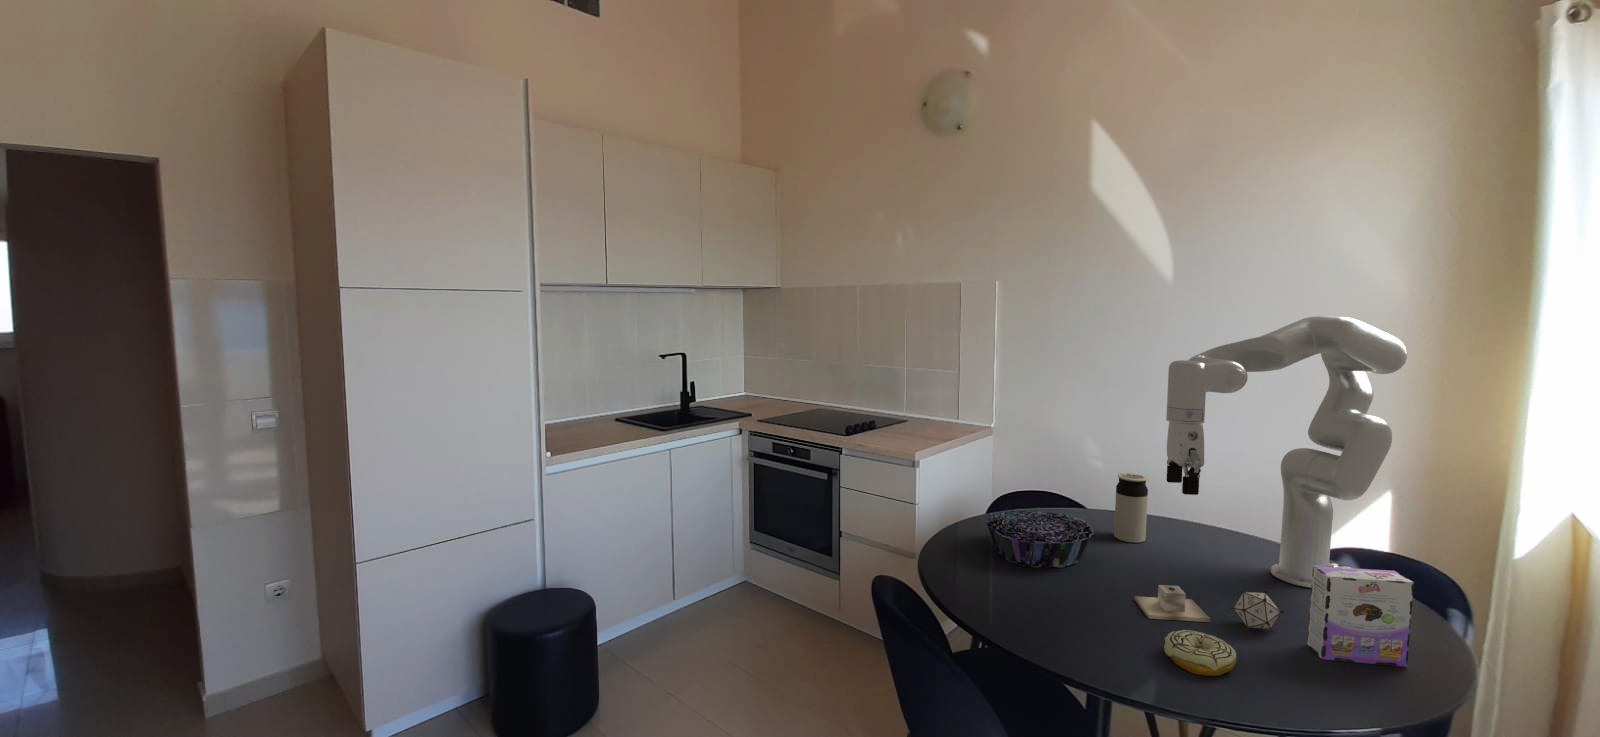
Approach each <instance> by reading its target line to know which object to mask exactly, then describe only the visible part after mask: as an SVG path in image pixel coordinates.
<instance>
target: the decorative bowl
mask: <svg viewBox="0 0 1600 737" xmlns="http://www.w3.org/2000/svg"><path fill="white" fill-rule="evenodd" d="M985 520H986V523H985V525H986V527H987V528H988V531H989V534H990V538H991V539H992V543H993V546H994V549H995V552H996V553H997V554H998V555H1000V554H1001V555H1000V556H1001V557H1002V558H1003V559H1004V558H1005V560H1006V561H1007V562H1009V563H1011V562H1012V564H1014V563H1015V565H1017V566H1020V567H1028V568H1031V567H1032V568H1036V569H1037V568H1044V569H1047V568H1048V569H1049V568H1051V567H1052V568H1055V569H1056V568H1060V569H1061V568H1065V567H1069V566H1071V565H1075V564H1078V563H1079V561H1080V560H1081V559H1082V558H1083V556H1084V554H1085V552H1086V549H1087V547H1088V544H1089V543H1090V540H1091V538H1092V536H1093V535H1094V534H1095V530H1094V528H1093V526H1092V525H1090V524H1089V522H1087V521H1085V520H1083V519H1082V518H1079V517H1075V516H1072V515H1067V514H1064V513H1056V512H1048V511H1037V510H1036V511H1034V510H1031V511H1029V510H1021V509H1020V510H1018V509H1017V510H1016V509H1013V510H1005V511H1002V512H997V513H993V514H989V516H988V517H987V518H986V519H985Z"/></svg>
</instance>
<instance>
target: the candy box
mask: <svg viewBox="0 0 1600 737" xmlns="http://www.w3.org/2000/svg"><path fill="white" fill-rule="evenodd" d="M1343 567H1344V566H1343ZM1343 567H1340V566H1339V567H1328V566H1314V565H1313V574H1312V587H1311V588H1310V589H1311V590H1310V601H1309V613H1308V615H1309V616H1308V626H1307V627H1308V628H1307V629H1308V630H1307V638H1306V641H1307V643H1306V645H1307V646H1308V647H1309V648H1310V649H1311V650H1312V651H1313V652H1314V653H1315V654H1316V655H1317V656H1318V657H1319V658H1320V659H1321V660H1326V661H1337V662H1346V663H1347V662H1349V663H1359V664H1369V665H1370V664H1371V665H1382V666H1393V667H1404V668H1405V667H1406V668H1408V664H1409V651H1410V636H1411V625H1412V624H1411V623H1412V609H1413V596H1414V587H1415V586H1414V584H1415V582H1414V581H1413V580H1410V579H1409V578H1408V577H1406V576H1404V575H1402V574H1400V573H1399V572H1397V571H1396V570H1390V569H1389V570H1386V569H1373V568H1370V569H1369V568H1356V567H1350V568H1343Z"/></svg>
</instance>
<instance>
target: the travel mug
mask: <svg viewBox="0 0 1600 737" xmlns="http://www.w3.org/2000/svg"><path fill="white" fill-rule="evenodd" d="M1117 478H1118V483H1117V484H1116V485H1115V502H1114V503H1115V505H1114V506H1115V507H1114V508H1115V509H1114V528H1113V529H1114V530H1113V531H1114V532H1113V536H1114V537H1115V538H1116V539H1118V540H1119V541H1122V542H1125V543H1131V544H1133V543H1134V544H1140V543H1143V542H1146V536H1147V516H1148V515H1147V514H1148V493H1149V489H1148V487H1147V485H1146V483H1147V481H1148V477H1147V476H1146V475H1144V474H1139V473H1133V472H1132V473H1131V472H1122V473H1119V474H1117Z"/></svg>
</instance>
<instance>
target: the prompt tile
mask: <svg viewBox="0 0 1600 737" xmlns="http://www.w3.org/2000/svg"><path fill="white" fill-rule="evenodd" d="M1133 599H1134V601H1135V603H1137V605H1138V607H1139V608H1140V609H1141V611H1143V613H1144V614H1145V615H1146V617H1147V618H1148V619H1152V620H1153V619H1154V620H1165V621H1168V620H1169V621H1183V622H1185V621H1187V622H1203V623H1211V617H1209V616H1208V615H1207V613H1205V611H1203V609H1202V608H1201V607H1200V606H1199V605H1198V604H1197V603H1196V602H1195V601H1194V600H1193V599H1192V598H1186V592H1185V591H1184V590H1183V589H1181V587H1180V586H1179V585H1171V584H1169V585H1166V584H1158V590H1157V597H1154V596H1150V597H1149V596H1140V595H1139V596H1138V595H1136V596H1134V598H1133Z"/></svg>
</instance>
